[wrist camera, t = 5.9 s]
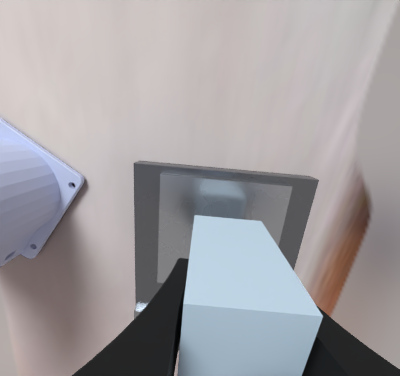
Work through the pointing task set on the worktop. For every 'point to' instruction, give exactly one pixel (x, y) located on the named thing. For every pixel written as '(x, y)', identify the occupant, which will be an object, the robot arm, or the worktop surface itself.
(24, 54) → the worktop surface
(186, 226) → the base
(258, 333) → the housing block
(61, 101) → the worktop surface
